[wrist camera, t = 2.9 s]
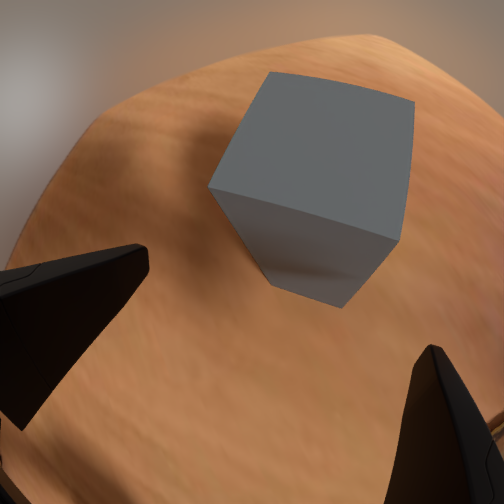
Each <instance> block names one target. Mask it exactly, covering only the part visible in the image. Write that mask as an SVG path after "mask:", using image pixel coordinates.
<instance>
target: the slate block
mask: <svg viewBox="0 0 504 504" xmlns="http://www.w3.org/2000/svg"><path fill="white" fill-rule="evenodd" d="M414 111H415V102H413V101H410V100H407V99H404V98H401V97H397V96H394V95H391V94H387V93H384V92H380V91H376V90H372V89H368V88H364V87H360V86H356V85H352V84H347V83H342V82H337V81H332V80H327V79H321V78H315V77H309V76H302V75H295V74H287V73H278V72H269V74H268V76H267V77H266V79H265V81H264V82H263V84H262V86H261V88H260V89H259V91H258V93H257V94H256V96H255V98H254V100H253V101H252V103H251V105H250V107H249V108H248V110H247V112H246V114H245V116H244V117H243V119H242V121H241V123H240V125H239V127H238V128H237V130H236V132H235V134H234V136H233V138H232V140H231V141H230V143H229V145H228V147H227V149H226V151H225V153H224V155H223V157H222V159H221V161H220V163H219V165H218V166H217V168H216V170H215V172H214V174H213V176H212V178H211V180H210V182H209V184H208V189H209V190H210V192H211V193H212V195H213V196H214V198H215V200H216V201H217V203H218V204H219V206H220V207H221V209H222V210H223V212H224V213H225V215H226V216H227V218H228V219H229V221H230V223H231V224H232V226H233V227H234V229H235V230H236V232H237V233H238V235H239V236H240V238H241V239H242V241H243V242H244V244H245V245H246V247H247V249H248V250H249V252H250V253H251V255H252V256H253V258H254V259H255V261H256V262H257V264H258V265H259V267H260V268H261V270H262V271H263V273H264V275H265V276H266V278H267V279H268V281H269V282H270V284H271V285H272V286H275V287H278V288H281V289H284V290H287V291H290V292H293V293H296V294H299V295H302V296H305V297H308V298H311V299H314V300H317V301H320V302H323V303H326V304H329V305H332V306H335V307H339V308H343V307H344V305H345V304H346V303H347V302H348V301H349V300H350V299H351V298H352V297H353V296H354V294H355V293H356V292H357V291H358V290H359V289H360V288H361V287H362V285H363V284H364V283H365V282H366V281H367V280H368V279H369V277H370V276H371V275H372V274H373V273H374V272H375V270H376V269H377V268H378V267H379V266H380V264H381V263H382V262H383V261H384V260H385V258H386V257H387V256H388V255H389V253H390V252H391V251H392V250H393V248H394V247H395V246H396V245H397V243H398V242H399V240H400V235H401V230H402V224H403V219H404V213H405V206H406V200H407V193H408V186H409V177H410V169H411V159H412V147H413V133H414Z"/></svg>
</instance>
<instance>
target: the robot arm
mask: <svg viewBox="0 0 504 504" xmlns="http://www.w3.org/2000/svg"><path fill="white" fill-rule="evenodd" d="M148 273H149V256H148V250H147V248H146V247H145V246H142V245H140V244H131V245H125V246H120V247H115V248H110V249H105V250H100V251H95V252H91V253H86V254H81V255H76V256H72V257H67V258H62V259H58V260H53V261H49V262H44V263H42V264H41V263H39V264H35V265H31V266H26V267H21V268H16V269H11V270H5V271H0V411H1V412H2V413H3V414H4V415H5V416H6V417H7V418H8V419H9V420H10V421H11V422H12V423H13V424H14V425H15V426H16V427H18V428H19V429H20V430H21V431H23V430H24V429H25V428H26V426H27V425H28V423H29V422H30V421H31V419H32V418H33V417H34V415H35V414H36V413H37V411H38V410H39V409H40V407H41V406H42V405H43V403H44V402H45V401H46V399H47V398H48V397H49V396H50V394H51V393H52V391H53V390H54V389H55V388H56V386H57V385H58V384H59V383H60V381H61V380H62V379H63V378H64V376H65V375H66V374H67V373H68V371H69V370H70V369H71V368H72V366H73V365H74V364H75V363H76V362H77V360H78V359H79V358H80V357H81V356H82V354H83V353H84V352H85V351H86V350H87V348H88V347H89V346H90V345H91V344H92V343H93V341H94V340H95V339H96V338H97V337H98V336H99V334H100V333H101V332H102V331H103V330H104V329H105V327H106V326H107V325H108V324H109V323H110V322H111V321H112V319H113V318H114V317H115V316H116V315H117V314H118V313H119V312H120V310H121V309H122V308H123V307H124V306H125V304H126V303H127V302H128V300H129V299H130V298H131V296H132V295H133V294H134V292H135V291H136V289H137V288H138V287H139V285H140V284H141V283H142V281H143V280H144V279H145V277H146V276H147V275H148ZM0 428H1V418H0ZM0 504H31V503H30V502H29V500H28V499H27V498H26V497H25V496H24V495H23V494H22V493H21V491H20V490H19V489H18V488H17V487H16V485H15V484H14V483H13V482H12V481H11V479H10V478H9V477H8V476H7V474H6V473H5V472H4V470H3V469H2V468H1V466H0ZM384 504H504V460H503V457H502V455H501V453H500V451H499V449H498V447H497V445H496V442H495V440H493V436H492V434H491V432H490V430H489V428H488V426H487V424H486V422H485V420H484V418H483V417H482V415H481V413H480V411H479V409H478V407H477V405H476V404H475V402H474V400H473V398H472V396H471V395H470V393H469V391H468V389H467V388H466V386H465V384H464V383H463V381H462V379H461V377H460V376H459V374H458V373H457V371H456V369H455V368H454V366H453V364H452V363H451V361H450V360H449V358H448V356H447V355H446V353H445V352H444V350H443V349H442V348H441V347H439V346H436V345H432V344H430V345H428V346H427V347H426V348H425V350H424V351H423V353H422V354H421V355H420V357H419V358H418V360H417V361H416V363H415V364H414V367H413V370H412V375H411V380H410V385H409V390H408V394H407V399H406V403H405V407H404V412H403V416H402V422H401V429H400V435H399V441H398V446H397V451H396V456H395V461H394V466H393V470H392V474H391V478H390V482H389V486H388V490H387V494H386V497H385V501H384Z"/></svg>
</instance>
